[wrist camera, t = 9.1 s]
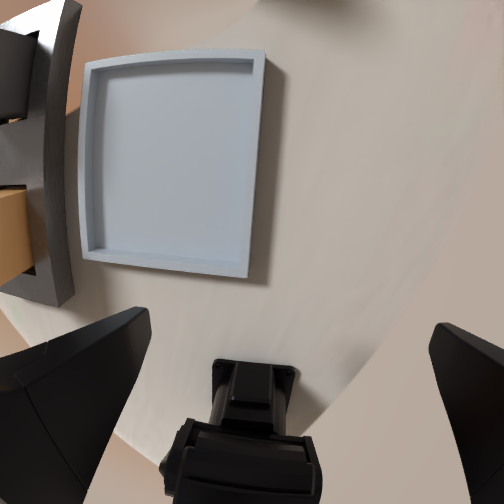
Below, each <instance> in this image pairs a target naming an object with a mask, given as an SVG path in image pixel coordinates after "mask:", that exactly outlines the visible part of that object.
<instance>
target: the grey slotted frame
mask: <svg viewBox="0 0 504 504" xmlns="http://www.w3.org/2000/svg"><path fill="white" fill-rule="evenodd" d="M81 10H82V5H81V4H79V3H77V2H76V1H74V0H53V1H50V2H48V3H46V4H43V5H41V6H38V7H36V8H34V9H32V10H29V11H27V12H25V13H23V14H21V15H19V16H17V17H14V18H12V19H10V20H8V21H7V22H5V23H3V24H1V25H0V28H1V29H4V30H8V31H12V32H15V33H19V34H23V35H26V36H29V37H33V38H36V39H38V42H37V47H36V53H35V58H34V64H33V71H32V78H31V85H30V94H29V104H28V116H27V119H25V120H20V121H16V122H11V123H9V119H7V120H0V190H2V189H6V188H8V185H19V184H26V185H27V204H28V216H29V227H30V236H31V244H32V251H33V258H34V264H35V265H34V266H32V267H31V268H29V269H27V270H26V271H24V272H22V273H21V274H19V275H18V276H16V277H14V278H13V279H11V280H10V281H8V282H7V283H5V284H3V285H2V286H0V292H3V293H6V294H10V295H13V296H17V297H20V298H24V299H27V300H31V301H35V302H39V303H42V304H46V305H50V306H54V307H58V308H59V307H60V306H61V305H62V304H64V303H65V302H66V301H67V300H68V299H69V298H71V297H72V296H73V295H74V287H73V281H72V274H71V267H70V259H69V251H68V242H67V231H66V218H65V201H64V131H65V114H66V102H67V91H68V83H69V75H70V67H71V61H72V55H73V48H74V43H75V38H76V33H77V28H78V23H79V19H80V14H81Z"/></svg>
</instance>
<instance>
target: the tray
mask: <svg viewBox="0 0 504 504" xmlns="http://www.w3.org/2000/svg"><path fill="white" fill-rule="evenodd" d="M265 63H266V53H265V50H247V49H195V50H177V51H163V52H152V53H143V54H134V55H127V56H120V57H114V58H107V59H101V60H96V61H91V62H86V63H85V69H84V76H83V84H82V94H81V104H80V117H79V135H78V204H79V223H80V236H81V247H82V257H83V259H88V260H95V261H103V262H110V263H118V264H126V265H134V266H142V267H150V268H158V269H167V270H175V271H184V272H193V273H202V274H211V275H220V276H230V277H240V278H247V276H248V272H249V264H250V251H251V238H252V226H253V213H254V201H255V188H256V175H257V163H258V150H259V138H260V125H261V113H262V100H263V88H264V76H265Z"/></svg>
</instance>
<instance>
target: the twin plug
mask: <svg viewBox="0 0 504 504" xmlns="http://www.w3.org/2000/svg"><path fill="white" fill-rule="evenodd" d="M37 42H38V39H36V38H33V37H29V36H26V35H23V34H19V33H15V32H12V31H8V30H4V29H1V28H0V120H7V119H17V118H21V117H26V116H28V104H29V94H30V85H31V78H32V71H33V64H34V58H35V53H36V47H37Z"/></svg>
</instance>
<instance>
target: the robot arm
mask: <svg viewBox="0 0 504 504" xmlns="http://www.w3.org/2000/svg"><path fill="white" fill-rule="evenodd" d="M151 335H152V330H151V323H150V315H149V311H148V309H147V308H144V307H137V306H136V307H132V308H130V309H127V310H125V311H122V312H120V313H117V314H115V315H112V316H110V317H107V318H105V319H102V320H100V321H97V322H95V323H92V324H90V325H87V326H85V327H82V328H80V329H77V330H75V331H72V332H70V333H67V334H64V335H62V336H59V337H57V338H54V339H52V340H49V341H48V342H44V343H41V344H39V345H36V346H34V347H31V348H28V349H26V350H23V351H20V352H17V353H14V354H11V355H8V356H5V357H1V358H0V504H83V502H84V499H85V497H86V494H87V490H88V489H89V486H90V484H91V482H92V479H93V477H94V474H95V472H96V469H97V467H98V465H99V462H100V460H101V458H102V455H103V453H104V451H105V448H106V446H107V444H108V442H109V439H110V437H111V435H112V432H113V430H114V428H115V426H116V423H117V421H118V419H119V417H120V415H121V412H122V410H123V408H124V406H125V404H126V401H127V399H128V397H129V395H130V393H131V391H132V389H133V386H134V384H135V382H136V380H137V378H138V375H139V372H140V369H141V366H142V363H143V360H144V357H145V354H146V351H147V348H148V346H149V343H150V340H151ZM429 354H430V358H431V361H432V365H433V369H434V373H435V377H436V381H437V385H438V388H439V391H440V394H441V397H442V400H443V403H444V406H445V409H446V411H447V415H448V418H449V421H450V424H451V427H452V430H453V434H454V437H455V440H456V444H457V447H458V451H459V454H460V458H461V461H462V465H463V469H464V473H465V477H466V482H467V486H468V490H469V495H470V500H471V504H504V349H502V348H500V347H498V346H496V345H494V344H492V343H489V342H488V341H486V340H483V339H481V338H479V337H477V336H475V335H473V334H471V333H469V332H467V331H465V330H463V329H461V328H459V327H457V326H454V325H452V324H450V323H438V324H437V325H436V326H435V329H434V332H433V335H432V337H431V340H430V343H429ZM217 364H220V365H221V366H218V365H217ZM288 371H290V373H287V372H288ZM294 377H295V369H294V367H292V366H284V365H272V364H261V363H251V362H242V361H233V360H225V359H215V360H214V362H213V365H212V411H211V416H210V420H209V424H208V423H203V422H199V421H195V419H191V418H187V420H186V422H185V424H184V425H182V426H181V428H180V430H179V431H177V434H176V437H175V440H174V442H173V445H172V447H171V449H170V451H169V452H168V453H167V455H166V456H165V457H164V459H163V460H162V461H161V463H160V466H159V471H160V473H161V474H162V476H163V477H164V485H165V495H167V496H171V497H174V498H173V504H319V502H320V498H321V493H322V482H323V481H322V471H321V467H320V464H319V461H318V457H317V454H316V451H315V447H314V444H313V441H312V438H311V436H303V437H296V436H286V413H287V408H288V404H289V400H290V395H291V391H292V386H293V381H294Z"/></svg>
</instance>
